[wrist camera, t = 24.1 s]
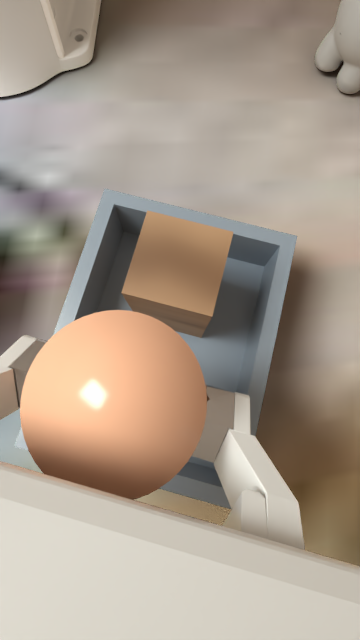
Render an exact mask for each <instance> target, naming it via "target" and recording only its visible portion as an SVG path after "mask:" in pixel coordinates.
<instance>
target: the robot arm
mask: <svg viewBox="0 0 360 640" xmlns="http://www.w3.org/2000/svg"><path fill="white" fill-rule="evenodd" d="M100 5H101V0H0V97H3V96H10V95H15V94H19V93H22V92H25V91H28V90H30V89H33V88H35V87H37V86H39V85H40V84H42V83H44V82H45V81H47V80H48V79H50V78H51V77H53V76H55V75H56V74H58V73H60V72H62V71H67V70H71V69H75V68H78V67H81V66H84V65H86V64H88V63H89V62H90V61H91V59H92V57H93V52H94V45H95V38H96V32H97V25H98V19H99V12H100ZM46 342H47V341H46V340H42V339H38V338H34V337H31V336H28V335H25V336H22V337H21V338H20V339H19V340H18V341H16V342H15V343H14V344H13V345H12V346H11V347H10V348H9V349H8V350H7V351H6V352H5V353H4V354H3V355H1V356H0V420H1V419H2V418H4V417H6V416H8V415H9V414H11V413H13V412H14V411H16V410H18V409H19V408H20V404H21V395H22V389H23V385H24V382H25V378H26V375H27V373H28V371H29V368H30V366H31V364H32V362H33V361H34V359H35V357H36V355H37V354H38V353H39V351H40V350H41V349H42V347H43V346H44V345H45V343H46ZM206 394H207V412H206V418H205V424H204V428H203V431H202V435H201V438H200V440H199V442H198V444H197V447H196V449H195V451H194V452H193V454H192V456H193V457H197V458H200V459H203V460H206V461H209V462H213V463H214V466H215V469H216V471H217V474H218V476H219V479H220V481H221V484H222V486H223V489H224V491H225V494H226V496H227V499H228V501H229V504H230V506H231V509H232V510H231V512H230V513H229V515H228V517H227V518H226V520H225V522H224V523H223V525H222V526H221V525H217V524H214V523H210V522H207V521H204V520H200V519H197V518H193V517H190V516H187V515H183V514H180V513H176V512H173V511H169V510H166V509H163V508H159V507H156V506H152V505H149V504H145V503H142V502H139V501H135V500H132V499H128V498H125V497H121V496H118V495H115V494H111V493H108V492H104V491H101V490H98V489H94V488H91V487H87V486H84V485H80V484H77V483H74V482H70V481H67V480H63V479H60V478H56V477H53V476H50V475H46V474H43V473H39V472H36V471H32V470H29V469H26V468H22V467H19V466H15V465H12V464H8V463H5V462H2V461H0V640H360V566H358V565H354V564H351V563H347V562H344V561H340V560H337V559H334V558H330V557H327V556H323V555H320V554H316V553H313V552H310V551H306V550H305V546H304V539H303V531H302V524H301V517H300V509H299V503H298V501H297V500H296V498H295V497H294V495H293V494H292V492H291V490H290V489H289V487H288V486H287V484H286V483H285V481H284V480H283V478H282V477H281V475H280V474H279V472H278V471H277V469H276V467H275V466H274V464H273V463H272V461H271V460H270V458H269V457H268V455H267V454H266V452H265V451H264V449H263V448H262V446H261V445H260V443H259V441H258V440H257V438H256V437H255V436H253V435H251V428H250V397H249V395H245V394H241V393H237V392H233V391H229V390H226V389H222V388H218V387H214V386H210V385H206Z"/></svg>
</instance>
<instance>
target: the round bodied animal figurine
mask: <svg viewBox="0 0 360 640" xmlns="http://www.w3.org/2000/svg"><path fill="white" fill-rule="evenodd" d="M314 60H315V65H316V66H317V68H318V69H320V70H321V71H325V72H330V71H334V70H336V69H337V68H338V67H339V66H340V64H341V63H342V61H343V62H344V64H343V66H342V68H341V70H340V71H339V73H338V76H337V79H336V84H337V87H338V89H339V90H340V91H341V92H343V93H346V94H354V93H357V92H358V91H359V90H360V0H341V3H340V5H339V8H338V11H337V16H336V21H335V24H334V26H333V28H332V29H331V30H330V31H329V32H328V33H327V35H326V36H325V37H324V39H323V40H322V42H321V43H320V45H319V47H318V49H317V51H316V54H315V59H314Z"/></svg>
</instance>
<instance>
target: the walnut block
mask: <svg viewBox="0 0 360 640" xmlns="http://www.w3.org/2000/svg"><path fill="white" fill-rule="evenodd" d="M232 236H233V232H232V231H228V230H224V229H220V228H216V227H212V226H208V225H204V224H200V223H196V222H192V221H188V220H184V219H180V218H176V217H172V216H168V215H164V214H160V213H156V212H152V211H148V210H147V213H146V216H145V219H144V222H143V226H142V229H141V232H140V235H139V238H138V241H137V245H136V248H135V251H134V254H133V257H132V260H131V264H130V267H129V270H128V273H127V276H126V279H125V283H124V286H123V289H122V292H121V293H122V295H123V296H124V298H125V300H126V301H127V303H128V304H129V306H130V307H131V309H132V311H133V312H139V313H142V314H145V315H148V316H151V317H153V318H155V319H157V320H160V321H161V322H163V323H165V324H166V325H168V326H169V327H171V328H172V329H173V330H174V331H177V332H181V333H184V334H188V335H192V336H196V337H200V338H201V337H202V335H203V333H204V331H205V329H206V328H207V326H208V324H209V322H210V320H211V318H212V316H213V312H214V308H215V304H216V300H217V296H218V292H219V288H220V284H221V280H222V276H223V272H224V268H225V264H226V260H227V256H228V252H229V248H230V244H231V240H232Z"/></svg>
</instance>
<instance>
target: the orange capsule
mask: <svg viewBox="0 0 360 640" xmlns="http://www.w3.org/2000/svg"><path fill="white" fill-rule="evenodd" d="M206 412H207V394H206V385H205V381H204V376H203V373H202V370H201V367H200V365H199V363H198V361H197V359H196V357H195V355H194V353H193V351H192V350H191V348H190V347H189V346H188V344H187V343H186V342H185V341H184V340H183V338H182V337H181V336H180V335H179V334H178V333H176V332H175V331H174V330H173V329H172V328H171V327H169V326H168V325H166V324H165V323H163V322H161V321H160V320H157V319H155V318H153V317H151V316H148V315H145V314H142V313H139V312H133V311H127V310H109V311H102V312H97V313H93V314H90V315H87V316H83V317H81V318H79V319H77V320H75V321H73V322H71V323H70V324H68V325H66V326H65V327H63V328H62V329H61V330H59V331H58V332H57V333H56V334H54V335H53V336H52V337H51V338H50V339H49V340H48V341H47V342H46V343H45V345H44V346H43V347H42V349H41V350H40V351H39V353H38V354H37V355H36V357H35V359H34V361H33V362H32V364H31V366H30V368H29V371H28V373H27V375H26V378H25V382H24V385H23V389H22V395H21V404H20V417H21V427H22V431H23V435H24V439H25V442H26V445H27V447H28V450H29V452H30V454H31V456H32V457H33V459H34V461H35V463H36V464H37V465H38V467H39V468H40V469H41V471H42V472H43V473H44V474H46V475H50V476H53V477H56V478H60V479H63V480H67V481H70V482H74V483H77V484H80V485H84V486H87V487H91V488H94V489H98V490H101V491H104V492H108V493H111V494H115V495H118V496H121V497H125V498H128V499H132V500H133V499H137V498H140V497H142V496H145V495H148V494H150V493H151V492H153V491H155V490H157V489H159V488H160V487H162V486H163V485H165V484H166V483H167V482H169V481H170V480H171V479H172V478H173V477H174V476H175V475H176V474H177V473H179V472H180V470H181V469H182V468H183V467H184V466H185V464H186V463H187V462H188V461H189V459H190V457H191V456H192V454H193V452H194V451H195V449H196V447H197V444H198V442H199V440H200V438H201V435H202V431H203V428H204V424H205V418H206Z"/></svg>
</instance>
